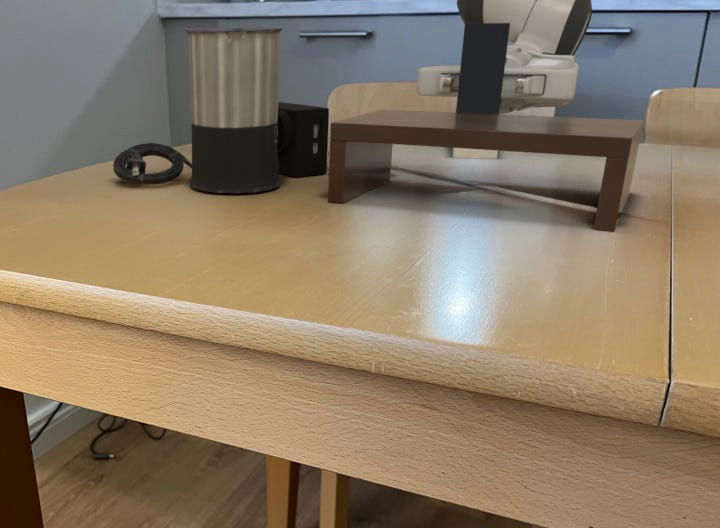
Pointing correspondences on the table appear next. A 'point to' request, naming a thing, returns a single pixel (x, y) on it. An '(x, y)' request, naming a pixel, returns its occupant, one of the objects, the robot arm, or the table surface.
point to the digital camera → (302, 139)
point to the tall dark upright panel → (481, 75)
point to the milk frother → (224, 115)
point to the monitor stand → (482, 147)
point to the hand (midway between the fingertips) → (482, 85)
